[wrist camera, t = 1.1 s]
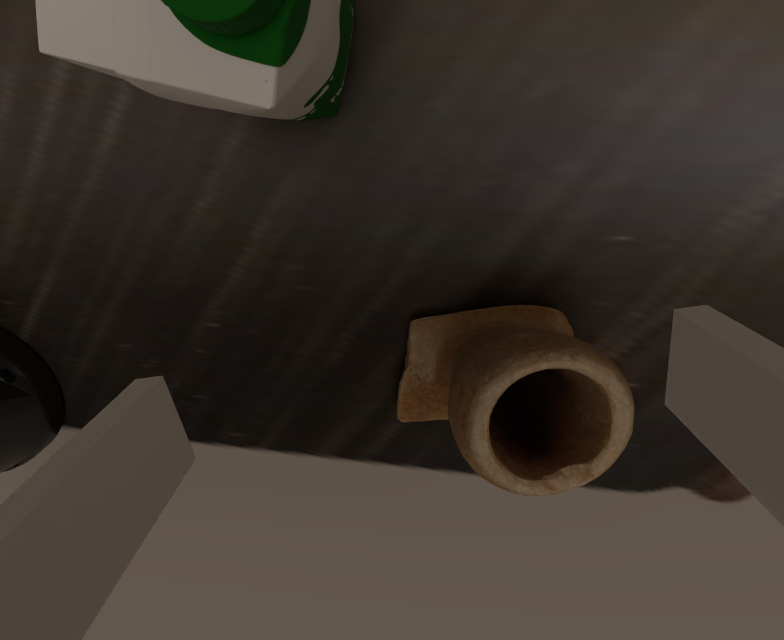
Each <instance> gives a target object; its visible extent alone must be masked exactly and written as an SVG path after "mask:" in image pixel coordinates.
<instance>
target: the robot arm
mask: <svg viewBox="0 0 784 640" xmlns="http://www.w3.org/2000/svg"><path fill="white" fill-rule="evenodd" d="M665 405H666V406H667V407H668V408H669V409H670V410H671V411H672V412H673V413H674V414H675V415H676V416H677V417H678V418H679V419H680V421H681V422H682V423H683V424H684V425H685V426H686V427H687V428H688V429H689V430H690V431H691V432H692V433H693V434H694V435H695V436H696V437H697V438H698V439H699V440H700V441H701V442H702V443H703V444H704V445H705V446H706V447H707V448H708V449H709V450H710V451H711V452H712V453H713V454H714V455H715V456H716V457H717V459H718V460H719V461H720V462H721V463H722V464H723V465H724V466H725V467H726V468H727V469H728V470H729V471H730V472H731V473H732V474H733V475H734V476H735V477H736V478H737V479H738V480H739V481H740V482H741V483H742V484H743V485H744V486H745V487H746V488H747V489H748V490H749V491H750V492H751V493H752V494H753V495H754V496H755V497H756V498H757V499H758V501H759V502H760V503H761V504H762V505H763V506H764V507H765V508H766V509H767V510H768V511H769V512H770V513H771V514H772V515H773V516H774V517H775V518H776V519H777V520H778V521H779V522H780V523H781V524H782V525H783V526H784V348H782V347H780V346H779V345H777V344H775V343H773V342H772V341H770V340H768V339H766V338H764V337H763V336H761V335H759V334H757V333H756V332H754V331H752V330H750V329H748V328H747V327H745V326H743V325H741V324H739V323H738V322H736V321H734V320H732V319H731V318H729V317H727V316H725V315H723V314H722V313H720V312H718V311H716V310H715V309H713V308H711V307H709V306H707V305H703V306H695V307H688V308H680V309H674V314H673V324H672V334H671V345H670V355H669V365H668V375H667V386H666V396H665ZM63 417H64V406H63V400H62V395H61V392H60V389H59V387H58V385H57V382H56V380H55V379H54V377H53V375H52V374H51V372H50V370H49V369H48V368H47V366H46V365H45V364H44V363H43V361H42V360H41V359H40V358H39V357H38V356H37V355H36V354H35V353H34V352H33V351H32V350H31V349H30V348H29V347H28V346H26V345H25V344H24V343H23V342H21V341H20V340H19V339H17V338H16V337H14V336H13V335H11V334H9V333H8V332H6V331H4V330H2V329H0V473H1V472H4V471H8V470H11V469H14V468H16V467H18V466H21V465H22V464H24V463H26V462H27V461H29V460H31V459H32V458H33V457H35V456H36V455H37V454H38V453H39V452H41V451H42V450H43V449H44V448H45V447H46V446H47V445H49V444H50V443H51V441H53V440H54V438H55V437H56V435H57V434H58V432H59V431H60V428H61V426H62V422H63ZM194 460H195V455H194V453H193V450H192V448H191V445H190V442H189V440H188V437H187V435H186V433H185V430H184V428H183V425H182V423H181V420H180V418H179V415H178V413H177V410H176V408H175V405H174V403H173V400H172V398H171V395H170V393H169V390H168V388H167V385H166V383H165V380H164V378H163V376H157V377H149V378H142V379H135V380H134V381H133V382H132V383H131V384H130V385H129V386H128V387H127V388H126V389H124V390H123V391H122V392H121V393H120V394H119V395H118V396H117V397H116V398H115V399H114V400H113V401H112V402H111V403H109V404H108V405H107V406H106V407H105V408H104V409H103V410H102V411H101V412H100V413H99V414H98V415H97V416H95V417H94V418H93V419H92V420H91V421H90V422H89V423H88V424H87V425H86V426H85V427H84V428H83V429H81V430H80V431H79V432H78V433H77V434H76V435H75V436H74V437H73V438H72V439H71V440H70V441H69V442H68V443H66V444H65V445H64V446H63V447H62V448H61V449H60V450H59V451H58V452H57V453H56V454H55V455H54V456H52V457H51V458H50V459H49V460H48V461H47V462H46V463H45V464H44V465H43V466H42V467H41V468H40V469H38V470H37V471H36V472H35V473H34V474H33V475H32V476H31V477H30V478H29V479H28V480H27V481H26V482H24V483H23V484H22V485H21V486H20V487H19V488H18V489H17V490H16V491H15V492H14V493H13V494H12V495H11V496H10V497H8V498H7V499H6V500H5V501H4V502H3V503H2V504H1V505H0V640H82V638H83V637H84V635H85V633H86V631H87V630H88V629H89V627H90V625H91V624H92V622H93V621H94V619H95V617H96V616H97V614H98V613H99V611H100V610H101V608H102V606H103V605H104V603H105V602H106V600H107V598H108V597H109V595H110V594H111V592H112V590H113V589H114V587H115V586H116V584H117V582H118V581H119V579H120V578H121V576H122V574H123V573H124V571H125V570H126V568H127V567H128V565H129V563H130V562H131V560H132V559H133V557H134V555H135V554H136V552H137V551H138V549H139V547H140V546H141V544H142V543H143V541H144V540H145V538H146V536H147V535H148V533H149V532H150V530H151V529H152V527H153V525H154V524H155V522H156V521H157V519H158V517H159V516H160V514H161V512H162V511H163V509H164V508H165V506H166V505H167V503H168V501H169V500H170V498H171V497H172V495H173V493H174V492H175V490H176V489H177V487H178V486H179V484H180V482H181V481H182V479H183V477H184V476H185V474H186V473H187V471H188V470H189V468H190V467H191V465H192V463H193V462H194Z"/></svg>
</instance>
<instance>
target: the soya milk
mask: <svg viewBox="0 0 784 640" xmlns="http://www.w3.org/2000/svg"><path fill="white" fill-rule="evenodd" d="M35 1H36V15H37V29H38V42H39V51H40V52H42V53H45V54H48V55H51V56H53V57H56V58H59V59H62V60H65V61H68V62H71V63H75V64H78V65H81V66H84V67H87V68H90V69H93V70H96V71H99V72H102V73H105V74H108V75H111V76H115V77H118V78H120V79H123V80H126V81H128V82H129V83H131V84H133V85H134V86H136V87H138V88H140V89H142V90H144V91H146V92H149V93H151V94H153V95H156V96H159V97H162V98H165V99H169V100H173V101H177V102H182V103H186V104H191V105H196V106H200V107H204V108H211V109H220V110H224V111H228V112H233V113H238V114H244V115H250V116H256V117H265V118H274V119H283V120H311V119H317V118H324V117H331V116H336V114H337V110H338V105H339V101H340V97H341V92H342V88H343V83H344V79H345V73H346V67H347V62H348V56H349V50H350V44H351V37H352V30H353V21H354V4H355V1H354V0H35Z"/></svg>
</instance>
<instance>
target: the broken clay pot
mask: <svg viewBox="0 0 784 640" xmlns="http://www.w3.org/2000/svg"><path fill="white" fill-rule="evenodd" d="M397 417H398V419H399V420H400V421H401V422H412V421H431V420H446V419H449V421H450V425H451V429H452V432H453V435H454V438H455V440H456V443H457V445H458V448H459V450H460V452H461V454H462V456H463V457H464V459H465V460H466V461H467V462H468V463H469V465H470V466H471V467H472V468H473V470H474V471H475V472H476V473H477V474H479V475H480V476H481V477H482V478H484V479H485V480H487V481H488V482H490V483H491V484H493V485H495V486H497V487H499V488H502V489H504V490H507V491H509V492H513V493H516V494H520V495H525V496H547V495H553V494H557V493H560V492H564V491H567V490H570V489H573V488H576V487H579V486H582V485H585V484H586V483H588V482H590V481H592V480H594V479H595V478H597V477H599V476H600V475H601V474H603V473H604V472H605V471H606V470H607V469H608V468H609V467H610V466H611V465H612V464H613V463H614V462H615V461H616V459H617V458H618V457H619V455H620V454H621V453H622V452H623V450H624V449H625V447H626V445H627V443H628V441H629V438H630V436H631V434H632V432H633V421H634V403H633V397H632V392H631V390H630V387H629V385H628V382H627V381H626V379H625V378H624V376H623V375H622V373H621V372H620V370H619V369H618V368H617V366H616V365H615V364H614V363H613V362H612V361H611V360H610V359H609V358H608V357H607V356H606V355H605V354H603V353H602V352H601V351H599V350H598V349H596V348H595V347H593V346H591V345H590V344H588V343H586V342H584V341H582V340H580V339H577V338H575V337H574V333H573V329H572V327H571V326H570V324H569V322H568V320H567V318H566V317H565V315H564V314H563V313H562V312H561V311H559V310H557V309H553V308H549V307H545V306H536V305H509V306H498V307H492V308H485V309H478V310H470V311H463V312H457V313H451V314H444V315H438V316H430V317H424V318H419V319H415V320H412V321H411V322H410V325H409V338H408V340H407V354H406V357H405V368H404V371H403V373H402V376H401V379H400V381H399V389H398V399H397Z"/></svg>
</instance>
